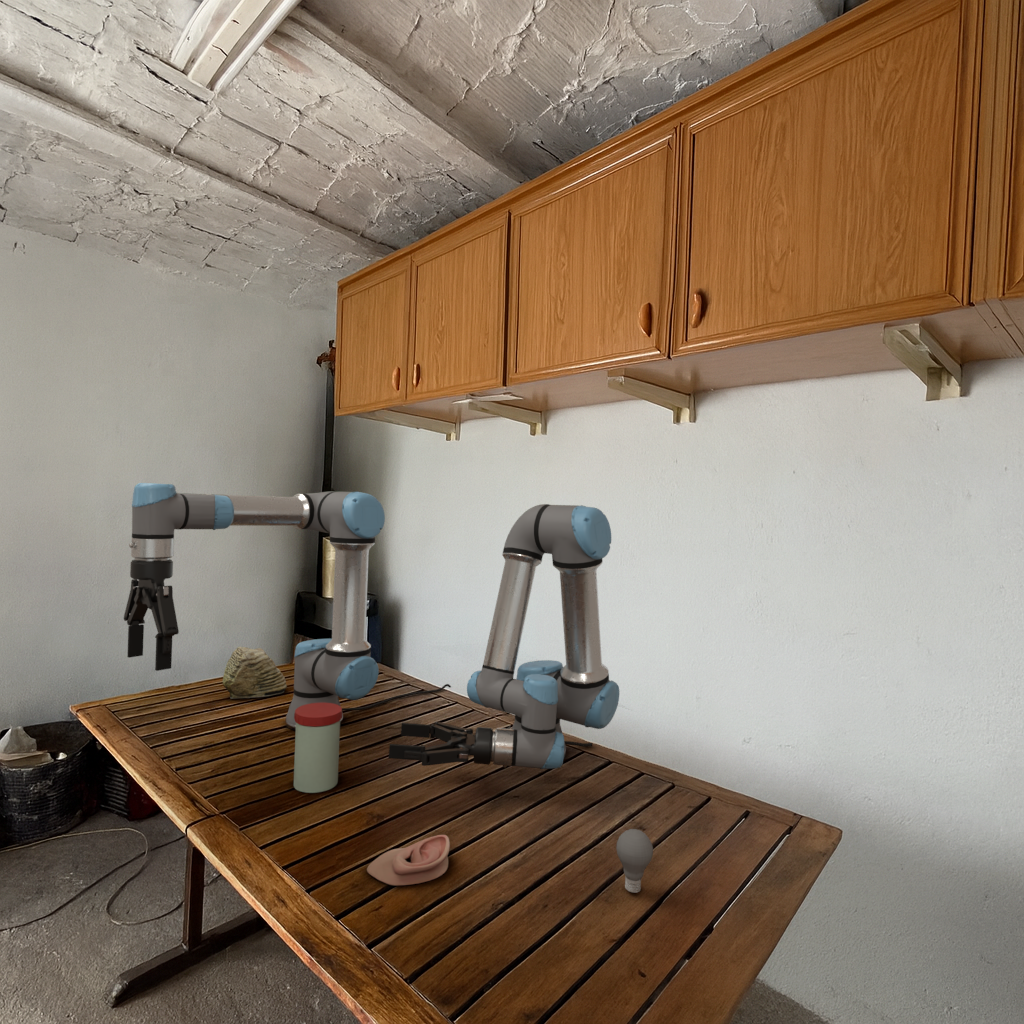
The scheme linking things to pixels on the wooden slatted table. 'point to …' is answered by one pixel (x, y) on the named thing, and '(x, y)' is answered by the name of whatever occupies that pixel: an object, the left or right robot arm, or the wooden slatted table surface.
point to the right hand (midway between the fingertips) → (395, 739)
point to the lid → (318, 714)
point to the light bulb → (634, 857)
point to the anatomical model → (412, 862)
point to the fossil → (252, 674)
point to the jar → (316, 757)
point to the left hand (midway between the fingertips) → (148, 662)
